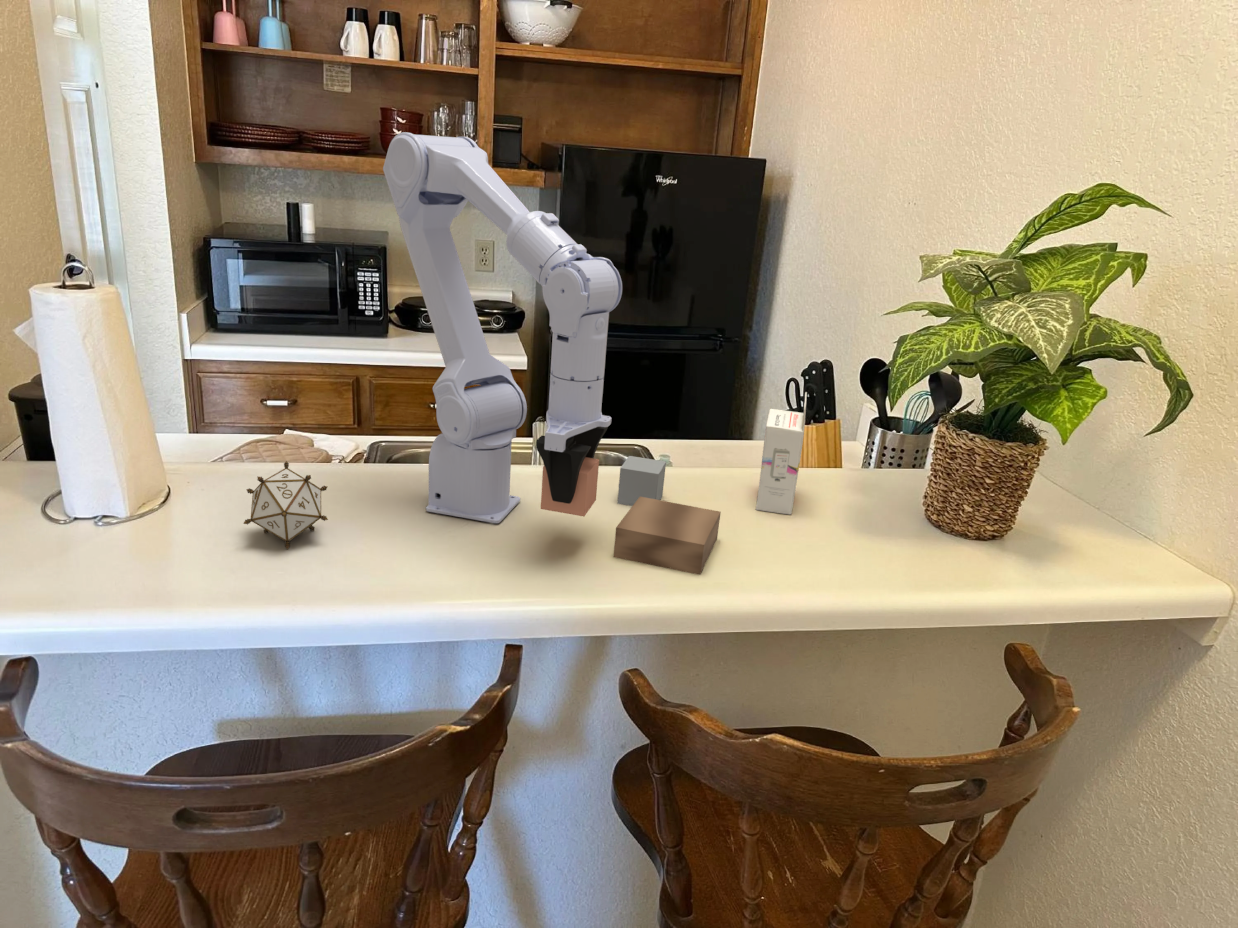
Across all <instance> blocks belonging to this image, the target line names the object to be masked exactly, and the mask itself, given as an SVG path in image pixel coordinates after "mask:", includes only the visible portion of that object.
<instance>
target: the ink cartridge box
mask: <svg viewBox="0 0 1238 928" xmlns="http://www.w3.org/2000/svg"><path fill="white" fill-rule="evenodd" d="M807 394H808V392H807V391H805V392H804V403H803V412H798V411H791V410H784V409H777V408H770V409H769V410H768V411H769V412H768V415H767V418H766V423H765V430H764V438H763V439H764V440H763V447H762V449H763V450H762V455H761V456H762V457H761V465H760V466H761V467H760V474H759V484H758V491H757V499H756V506H755V510H756V511H762V512H769V513H776V514H782V515H789V516H790V515H792V513H793V507H794V503H795V502H794V501H795V496H796V489H797V482H798V478H799V468H800V464H801V463H800V462H801V457H802V456H801V455H802V451H803V450H802V449H803V443H804V435H805V434H804V433H805V425H806V412H807V411H806V410H807V397H808V395H807Z"/></svg>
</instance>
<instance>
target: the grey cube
mask: <svg viewBox="0 0 1238 928" xmlns="http://www.w3.org/2000/svg"><path fill="white" fill-rule="evenodd" d="M666 467H667V461H664V460H658V459H652V458H646V457H639V456H633V455H629V456H627V458H626V459H625V461H624V462H623V463H622V465H621V466H620V468H619V480H618V481H619V482H618V491H617V504H618V505H623V506H624V505H625V506H630V507H632V506H633V505H634V503H635V502H636V501H637V499H638V498H639V497H645V498H651V499H656V500H661V499H662V498H663V495H664V485H665V476H666ZM661 501H662V500H661Z"/></svg>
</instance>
